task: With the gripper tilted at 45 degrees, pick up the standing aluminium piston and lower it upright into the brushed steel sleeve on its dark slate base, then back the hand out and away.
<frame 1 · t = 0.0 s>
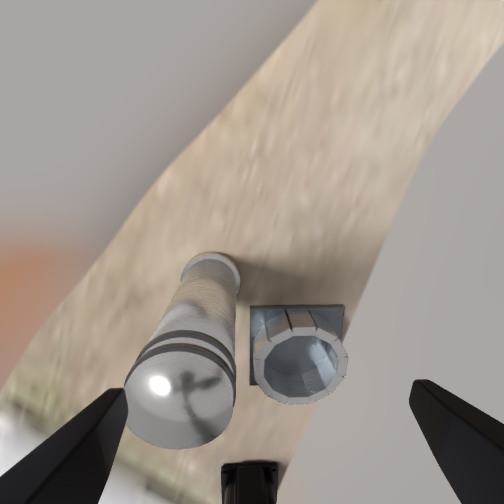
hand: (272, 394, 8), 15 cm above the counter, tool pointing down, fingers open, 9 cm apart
sleeve: (293, 344, 25), on the counter
piston: (211, 278, 22), on the counter
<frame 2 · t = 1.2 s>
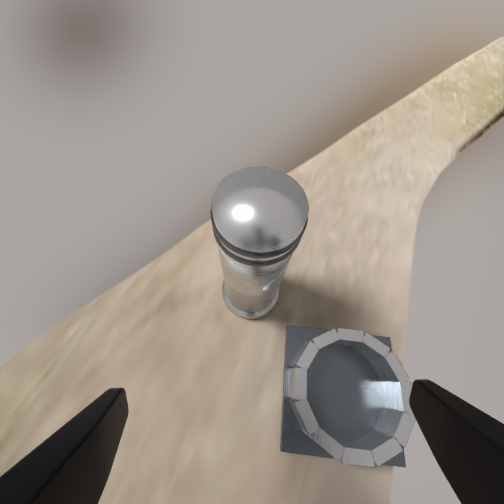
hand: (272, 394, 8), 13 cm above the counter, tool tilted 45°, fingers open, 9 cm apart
sleeve: (338, 388, 20), on the counter
piston: (250, 291, 23), on the counter
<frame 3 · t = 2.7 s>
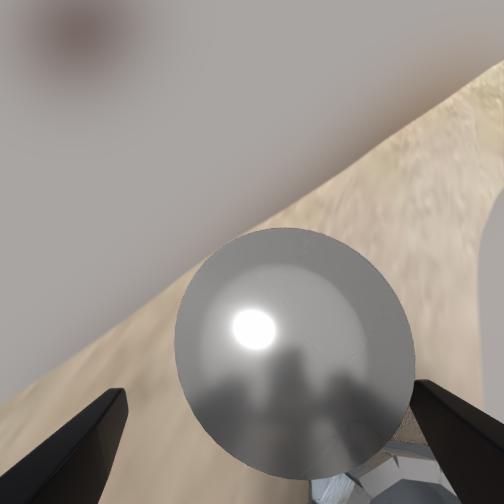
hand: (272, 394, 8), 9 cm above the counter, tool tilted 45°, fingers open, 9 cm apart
piston: (256, 371, 16), on the counter
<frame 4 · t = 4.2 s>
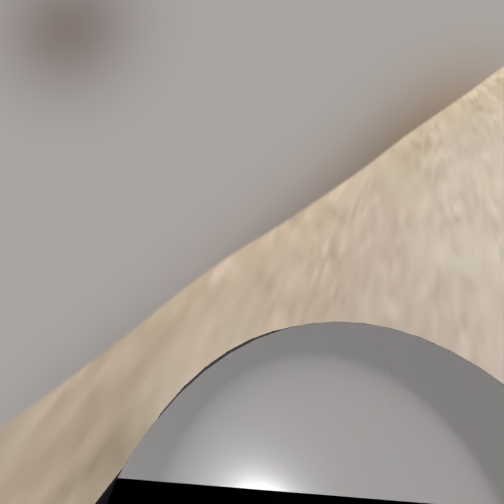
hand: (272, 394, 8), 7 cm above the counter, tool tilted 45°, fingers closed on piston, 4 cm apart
piston: (260, 422, 13), on the counter, touching gripper
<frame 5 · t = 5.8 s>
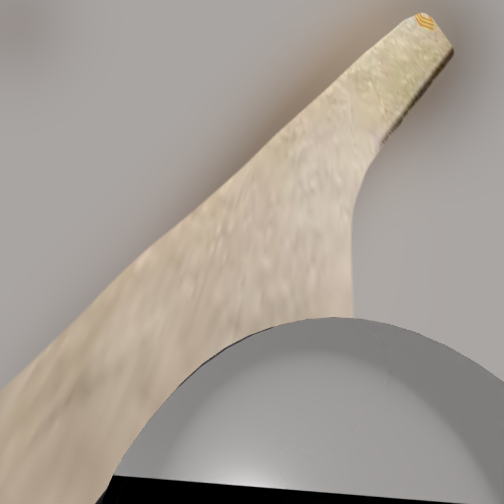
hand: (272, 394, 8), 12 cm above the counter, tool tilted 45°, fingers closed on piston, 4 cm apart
piston: (259, 421, 13), point 6 cm above the counter, touching gripper
when the fingers open (8 cm above the counter, at t = 7.9 s): piston stays where it is, resting on sleeve.
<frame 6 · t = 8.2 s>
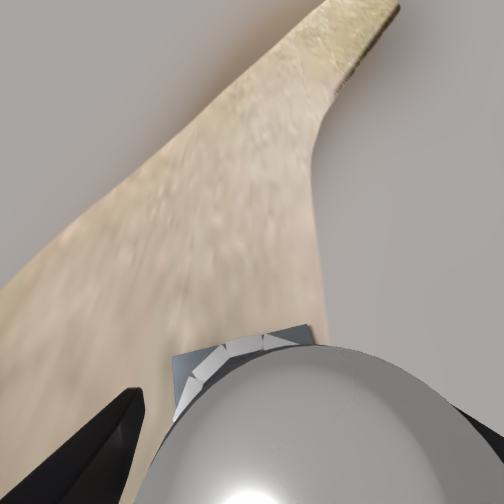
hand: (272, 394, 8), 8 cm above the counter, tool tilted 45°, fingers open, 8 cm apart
sleeve: (258, 418, 14), on the counter
piston: (258, 421, 14), point 1 cm above the counter, touching sleeve
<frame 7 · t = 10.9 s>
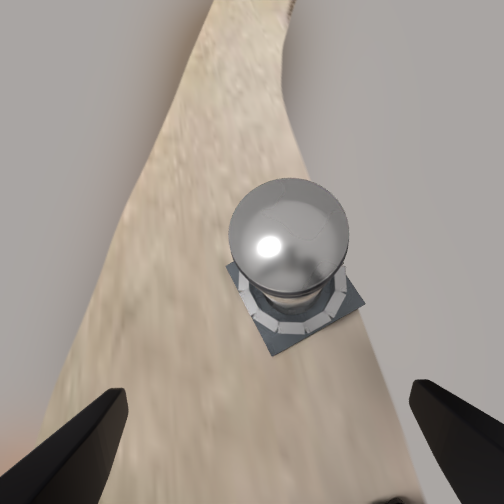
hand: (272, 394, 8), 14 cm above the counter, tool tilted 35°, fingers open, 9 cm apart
sleeve: (291, 284, 22), on the counter
piston: (291, 284, 22), resting on sleeve
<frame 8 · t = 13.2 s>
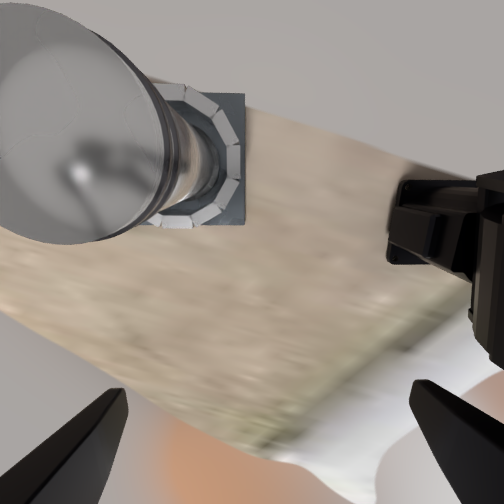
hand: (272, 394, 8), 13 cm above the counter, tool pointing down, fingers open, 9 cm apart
sleeve: (183, 163, 18), on the counter
piston: (183, 163, 18), resting on sleeve
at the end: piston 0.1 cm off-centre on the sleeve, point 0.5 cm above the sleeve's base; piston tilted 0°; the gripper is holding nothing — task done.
